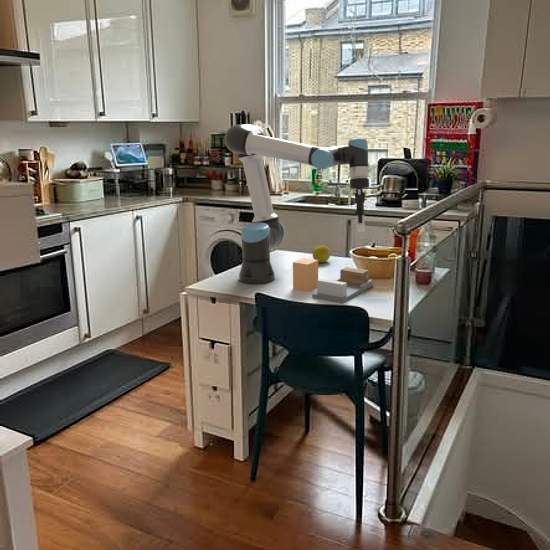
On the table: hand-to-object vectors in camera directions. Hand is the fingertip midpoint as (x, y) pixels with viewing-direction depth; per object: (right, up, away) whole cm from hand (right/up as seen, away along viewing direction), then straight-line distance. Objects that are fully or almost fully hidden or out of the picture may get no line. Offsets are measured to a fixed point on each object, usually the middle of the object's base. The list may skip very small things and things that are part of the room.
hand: (361, 231), depth 220 cm
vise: (-8, -24, -4) cm, 25 cm away
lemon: (-12, -11, +40) cm, 44 cm away
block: (-22, -22, +2) cm, 31 cm away
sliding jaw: (-3, -20, +2) cm, 20 cm away
